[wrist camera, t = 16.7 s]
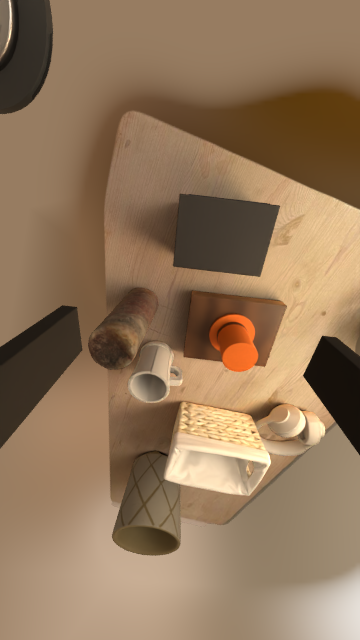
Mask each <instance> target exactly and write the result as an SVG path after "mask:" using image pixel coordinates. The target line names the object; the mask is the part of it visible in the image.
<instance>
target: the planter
mask: <svg viewBox="0 0 360 640" xmlns="http://www.w3.org/2000/svg"><path fill="white" fill-rule="evenodd" d="M167 458H168V456H165V455H162V454H160V453H159V452H158V451H153V452H150V453H147V454H144V455H141V456H139V457H138V458H137V459H136V460H135V461H134V464H133V466H132V470H131V473H130V477H129V480H128V483H127V487H126V490H125V493H124V496H123V500H122V503H121V506H120V510H119V513H118V516H117V520H116V523H115V527H114V530H113V534H112V538H113V541H114V542H115V543H116V544H117V545H118V546H120V547H121V548H123V549H125V550H127V551H130V552H133V553H137V554H142V555H165V554H169V553H172V552H174V551H176V550H177V549H178V548H179V546H180V525H181V522H180V484H177V483H174V482H170V481H168V480H165V479H164V472H165V467H166V462H167Z"/></svg>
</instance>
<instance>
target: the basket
mask: <svg viewBox="0 0 360 640" xmlns="http://www.w3.org/2000/svg"><path fill="white" fill-rule="evenodd" d="M256 439H257V440H256ZM170 446H171V447H170V449H169V455H168V458H167V462H166V467H165V472H164V479H165V480H168V481H170V482H174V483H177V484H182V485H186V486H191V487H197V488H203V489H208V490H213V491H217V492H223V493H228V494H235V495H248V496H249V495H250V494H251V493H252V492H253V491H254V489H255V488H256V486H257V485H258V484H259V482H260V481H261V479H262V478H263V476H264V475H265V473H266V471H267V469H268V467H269V465H270V463H271V462H270V456H269V453H268V452H267V451H266V450H265V448H264V445H263V443H262V441H261V438H260V436H259V433H258V431H257V428H256V426H255V423H254V422H253V419H252V416H251V415H248V414H244V413H238V412H233V411H229V410H225V409H219V408H213V407H210V406H205V405H203V406H202V405H197V404H193V403H188V402H181V403H180V406H179V410H178V414H177V417H176V421H175V425H174V430H173V434H172V441H171V444H170ZM250 460H251V461H252V462H253V465H254V470H253V471H252V474H251V473H250V472H249V468H248V463H249V461H250Z"/></svg>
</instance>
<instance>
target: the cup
mask: <svg viewBox="0 0 360 640" xmlns="http://www.w3.org/2000/svg"><path fill="white" fill-rule="evenodd" d="M173 359H174V354H173V351H172V349H171V348H170V347H169V346H168V345H167V344H165V343H163V342H160V341H152V342H148V343H147V344H145V345H144V346H143V347H142V348H141V351H140V354H139V360H138V363H137V365H136V367H135V369H134V371H133V373H132V375H131V377H130V378H129V381H128V390H129V392H130V393H131V395H132V396H133V397H134V398H136V399H138V400H139V401H142V402H145V403H146V402H147V403H156V402H160V401H162V400H163V399H165V398H166V397H167V396H168V394H169V390H170V386H179V385H181V384H182V370H181V369H180V368H179V367H177V366H172V363H173ZM170 372H171V373H174V374H175V375H176V376H177V377H170Z"/></svg>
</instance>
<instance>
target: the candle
mask: <svg viewBox="0 0 360 640" xmlns="http://www.w3.org/2000/svg"><path fill="white" fill-rule="evenodd" d="M157 309H158V299H157V296H156V295H155V294H154V293H153V292H152V291H150V290H148V289H144V288H135V289H133V290H131V291H130V292H129V293H128V294H127V295H126V296H125V297H124V298H123V300H122V301H121V302H120V303H119V304H118V305H117V306H116V307H115V308H114V310H113V311H112V312H111V313H110V314H109V315H108V316H107V317H106V318H105V319H104V321H103V322H102V323H101V324H100V325H99V326H98V327H97V328H96V329H95V330H94V332H93V333H92V334H91V335H90V338H89V343H88V346H89V351H90V353H91V356H92V358H93V359H94V361H95V362H96V363H98V364H100V365H101V366H103V367H105V368H107V369H110V370H113V369H122V368H125V367H126V366H128V365H129V364H130V363H131V362H132V361H133V360H134V358H135V356H136V354H137V352H138V350H139V347H140V345H141V343H142V341H143V339H144V336H145V334H146V332H147V330H148V328H149V325H150V324H151V321H152V319H153V317H154V315H155V313H156V311H157Z"/></svg>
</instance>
